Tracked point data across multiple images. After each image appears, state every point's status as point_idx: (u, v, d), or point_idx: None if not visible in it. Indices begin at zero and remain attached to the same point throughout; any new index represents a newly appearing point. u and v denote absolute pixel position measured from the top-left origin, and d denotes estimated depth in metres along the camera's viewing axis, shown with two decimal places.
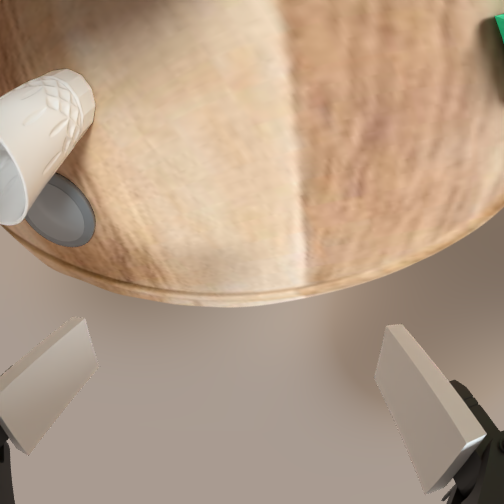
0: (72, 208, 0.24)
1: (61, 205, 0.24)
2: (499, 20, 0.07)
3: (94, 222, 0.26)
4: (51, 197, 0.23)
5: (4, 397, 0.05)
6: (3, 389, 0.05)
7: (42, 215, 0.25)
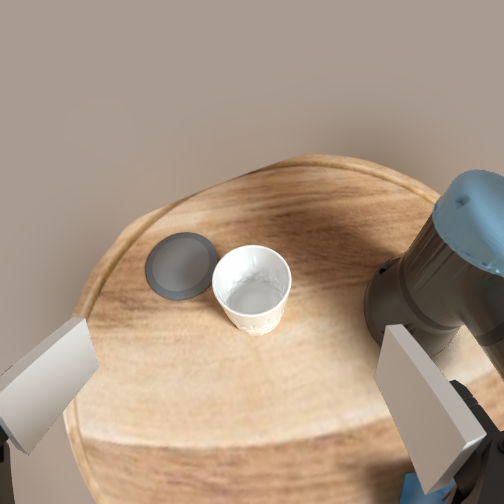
0: (180, 285, 0.38)
1: (184, 276, 0.39)
2: None
3: (163, 296, 0.38)
4: (193, 271, 0.39)
5: (4, 397, 0.05)
6: (3, 389, 0.05)
7: (181, 253, 0.41)
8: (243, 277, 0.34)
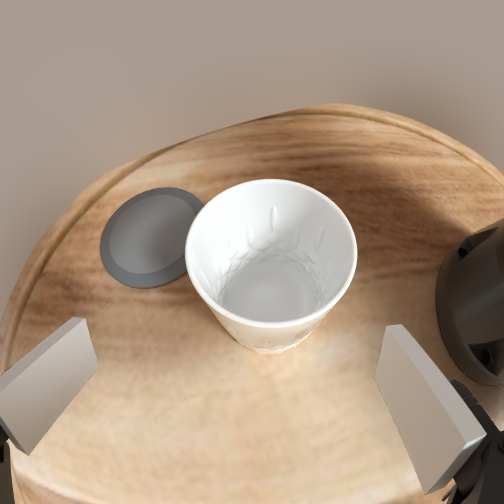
0: (146, 263, 0.23)
1: (154, 250, 0.24)
2: None
3: (119, 281, 0.23)
4: (169, 243, 0.24)
5: (4, 397, 0.05)
6: (3, 389, 0.05)
7: (154, 216, 0.26)
8: (250, 250, 0.19)
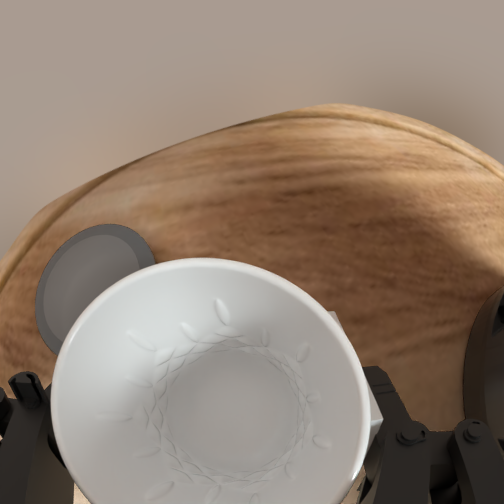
0: None
1: None
2: None
3: (54, 351, 0.15)
4: None
5: None
6: None
7: (92, 265, 0.18)
8: (197, 344, 0.12)
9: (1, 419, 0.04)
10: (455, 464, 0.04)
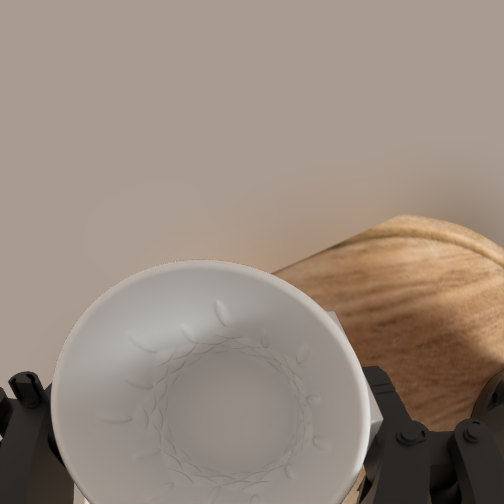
0: None
1: None
2: None
3: None
4: None
5: None
6: None
7: None
8: (197, 346, 0.12)
9: (1, 419, 0.04)
10: (455, 463, 0.04)
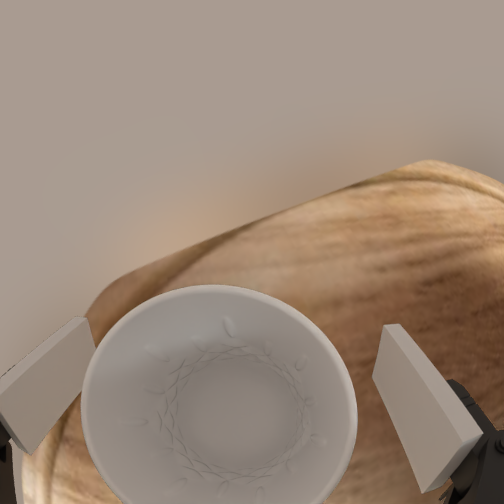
0: None
1: None
2: None
3: None
4: None
5: (7, 397, 0.05)
6: (6, 389, 0.05)
7: None
8: (205, 354, 0.13)
9: None
10: None
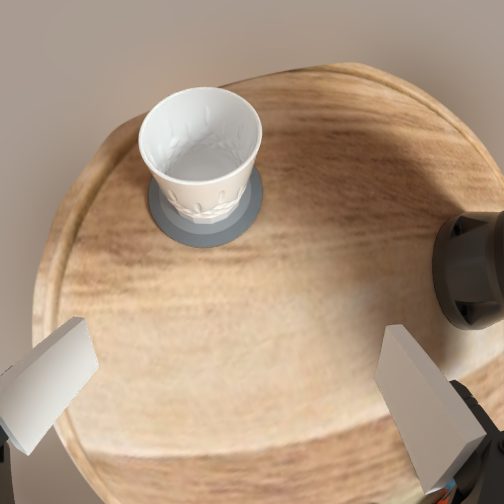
0: (207, 224, 0.25)
1: None
2: None
3: (179, 242, 0.25)
4: None
5: (4, 397, 0.05)
6: (3, 389, 0.05)
7: None
8: (189, 140, 0.22)
9: None
10: None
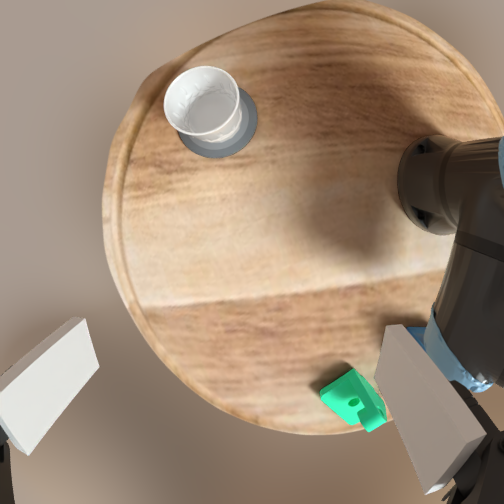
0: None
1: None
2: (353, 370, 0.42)
3: (201, 155, 0.36)
4: None
5: (4, 397, 0.05)
6: (3, 389, 0.05)
7: None
8: (199, 91, 0.30)
9: None
10: None
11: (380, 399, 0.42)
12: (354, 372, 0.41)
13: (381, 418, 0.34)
